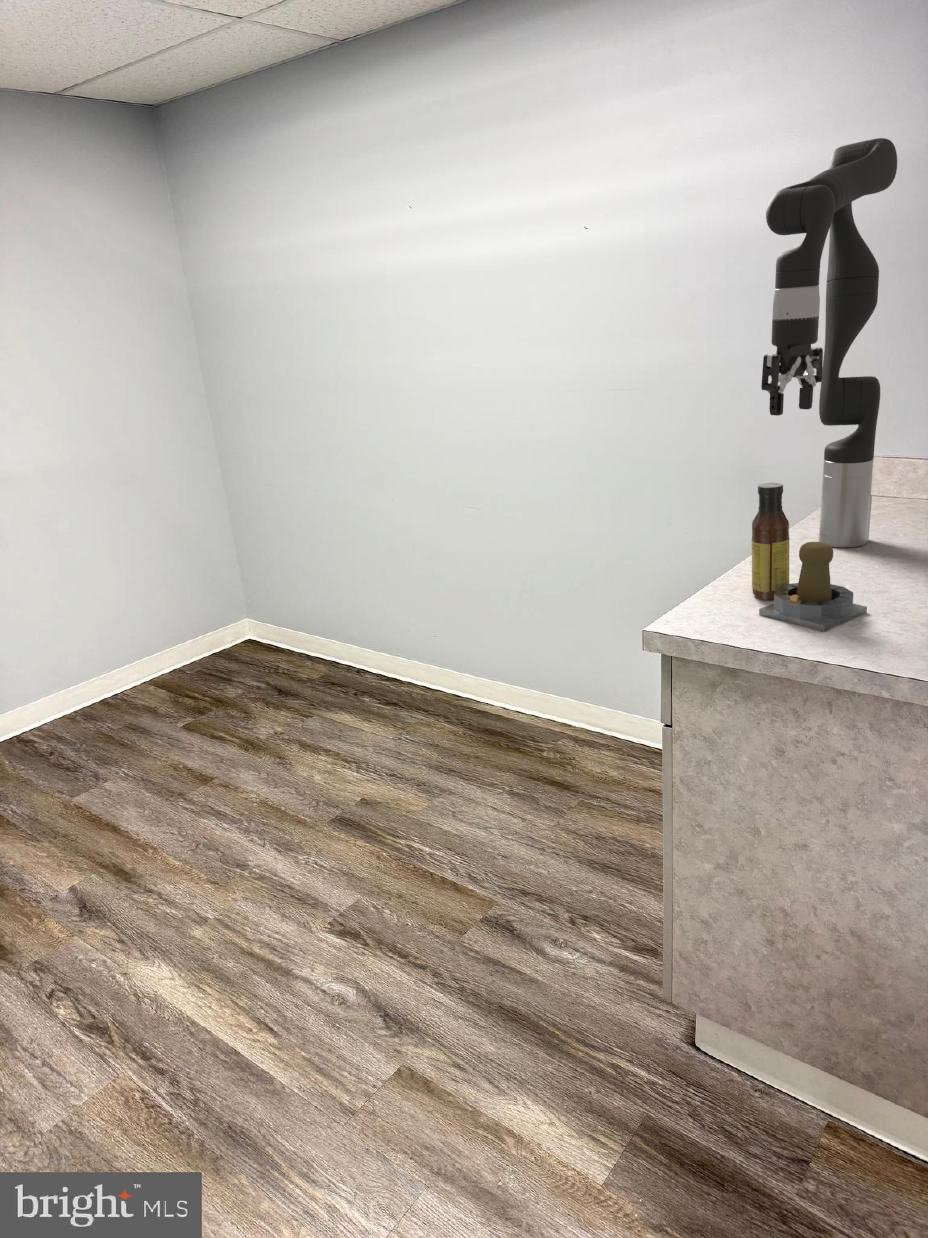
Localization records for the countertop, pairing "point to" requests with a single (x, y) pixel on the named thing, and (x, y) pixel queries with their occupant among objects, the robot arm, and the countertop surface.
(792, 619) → the hub
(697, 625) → the countertop surface
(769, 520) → the sauce bottle
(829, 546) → the cork
